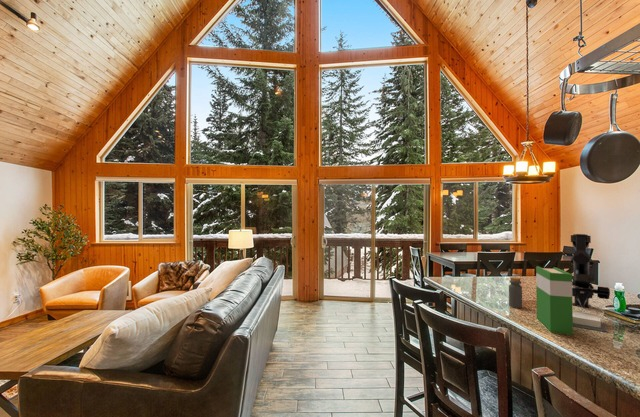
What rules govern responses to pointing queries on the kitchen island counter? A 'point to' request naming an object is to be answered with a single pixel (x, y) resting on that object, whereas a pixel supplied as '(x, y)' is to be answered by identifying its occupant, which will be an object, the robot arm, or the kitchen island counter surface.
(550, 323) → the hardback book
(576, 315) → the tile
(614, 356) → the kitchen island counter surface
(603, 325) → the mat
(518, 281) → the bottle
